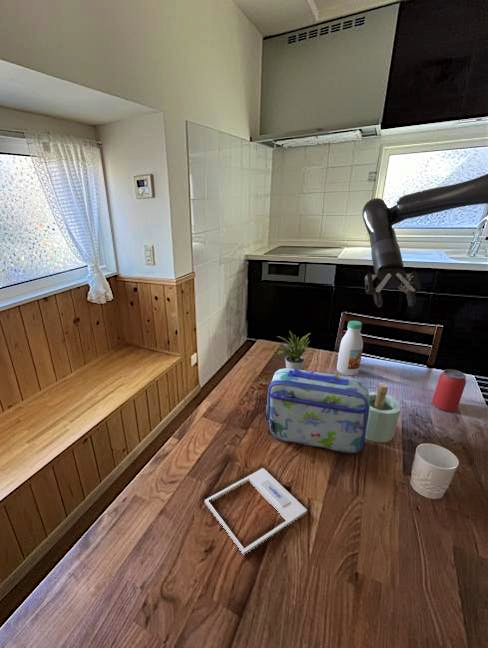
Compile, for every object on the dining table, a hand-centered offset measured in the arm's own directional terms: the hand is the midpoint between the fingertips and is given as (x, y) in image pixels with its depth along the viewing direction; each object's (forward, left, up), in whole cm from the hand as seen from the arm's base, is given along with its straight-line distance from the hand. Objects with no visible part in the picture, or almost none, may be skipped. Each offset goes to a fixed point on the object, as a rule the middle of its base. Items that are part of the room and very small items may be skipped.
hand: (396, 305), depth 97 cm
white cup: (-18, +29, -34) cm, 48 cm away
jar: (-3, +15, -34) cm, 37 cm away
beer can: (-17, -10, -34) cm, 39 cm away
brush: (-3, +15, -33) cm, 36 cm away
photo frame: (+11, +59, -34) cm, 69 cm away
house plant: (+30, -3, -34) cm, 45 cm away
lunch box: (+10, +29, -34) cm, 46 cm away
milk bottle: (+14, -15, -34) cm, 40 cm away
